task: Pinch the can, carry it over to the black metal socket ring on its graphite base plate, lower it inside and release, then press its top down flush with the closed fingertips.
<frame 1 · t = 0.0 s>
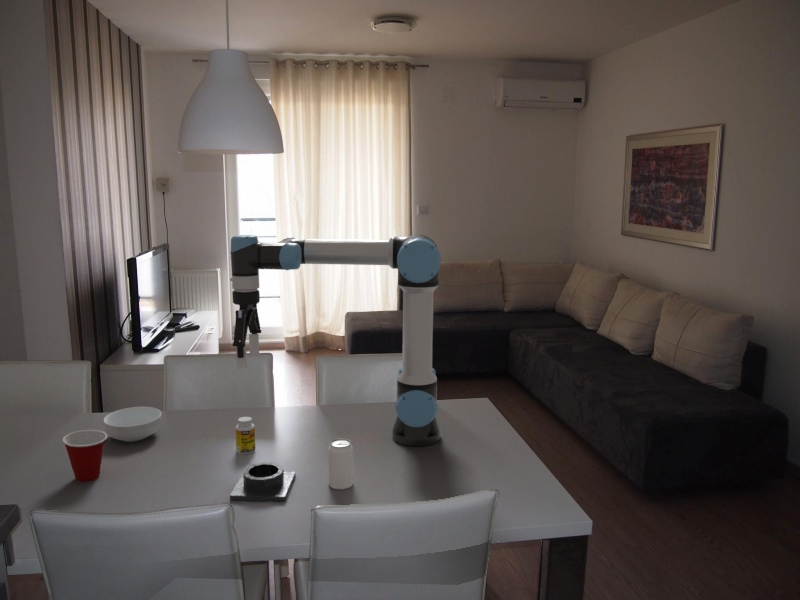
hand: (248, 361, 184), 28 cm above the table, fingers open, 13 cm apart
plastic cup: (88, 478, 172), on the table
socket: (264, 488, 166), on the table
supplement bottle: (246, 451, 189), on the table
cereal bowl: (134, 437, 199), on the table
can: (340, 485, 169), on the table
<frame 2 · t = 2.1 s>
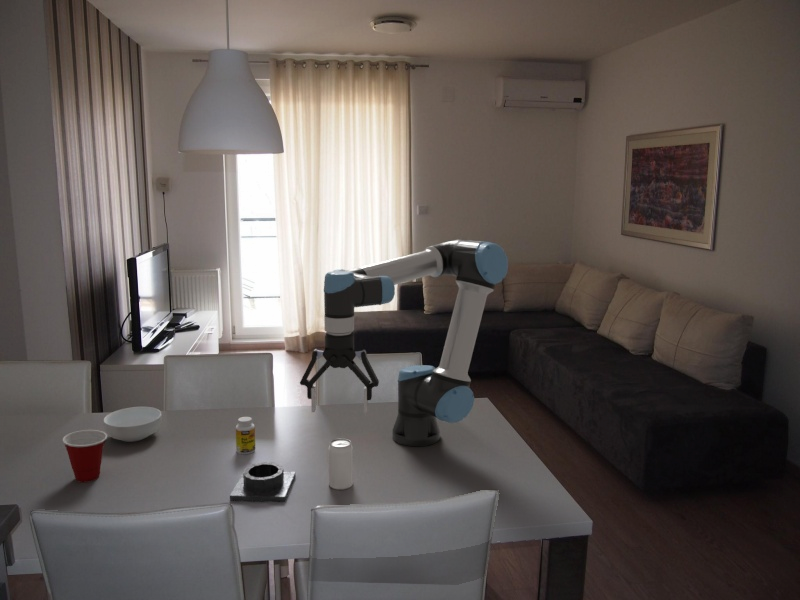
hand: (339, 411, 165), 21 cm above the table, fingers open, 13 cm apart
nothing on the table moved.
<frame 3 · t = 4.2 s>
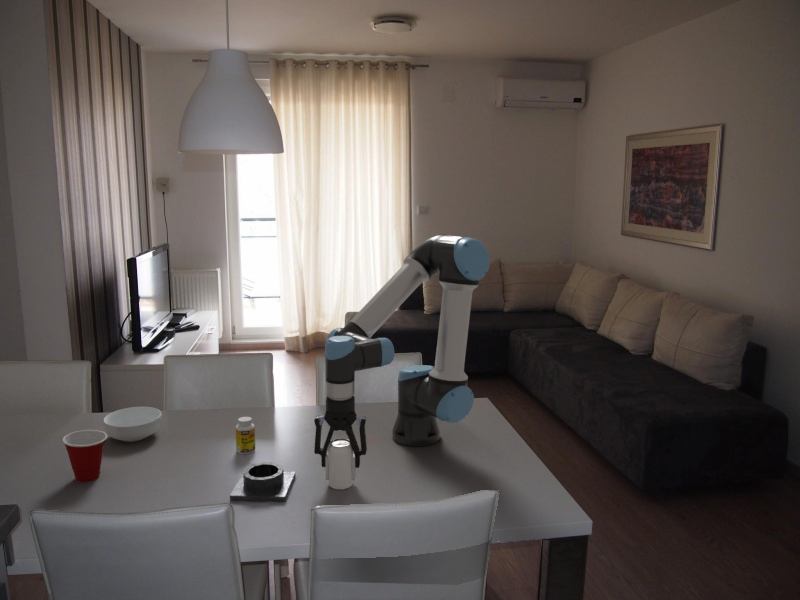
hand: (340, 477, 168), 2 cm above the table, fingers closed on can, 6 cm apart
can: (340, 485, 169), on the table, touching gripper
everything else where it was.
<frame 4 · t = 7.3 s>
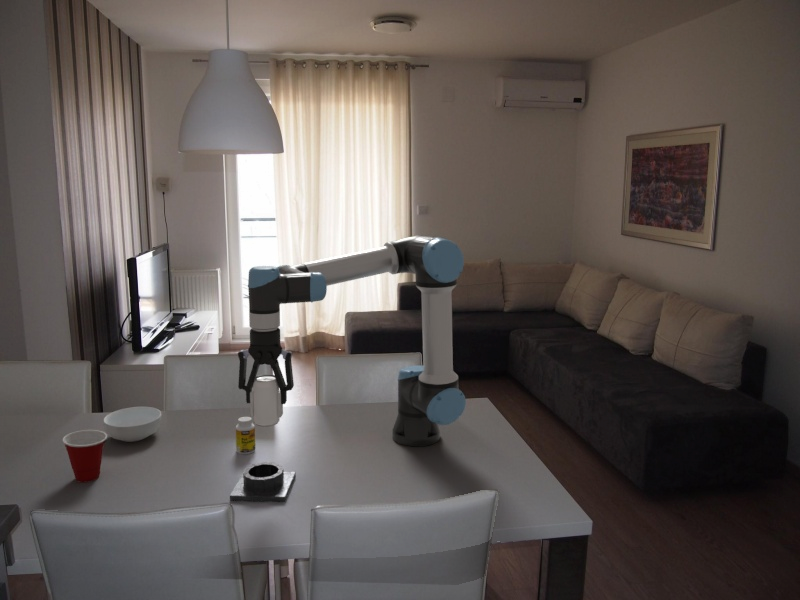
hand: (266, 415, 163), 20 cm above the table, fingers closed on can, 6 cm apart
can: (266, 423, 163), point 18 cm above the table, touching gripper
everything else where it was.
when the fingers open (6 cm above the table, at t = 10.5 s): can drops 2 cm, resting on socket.
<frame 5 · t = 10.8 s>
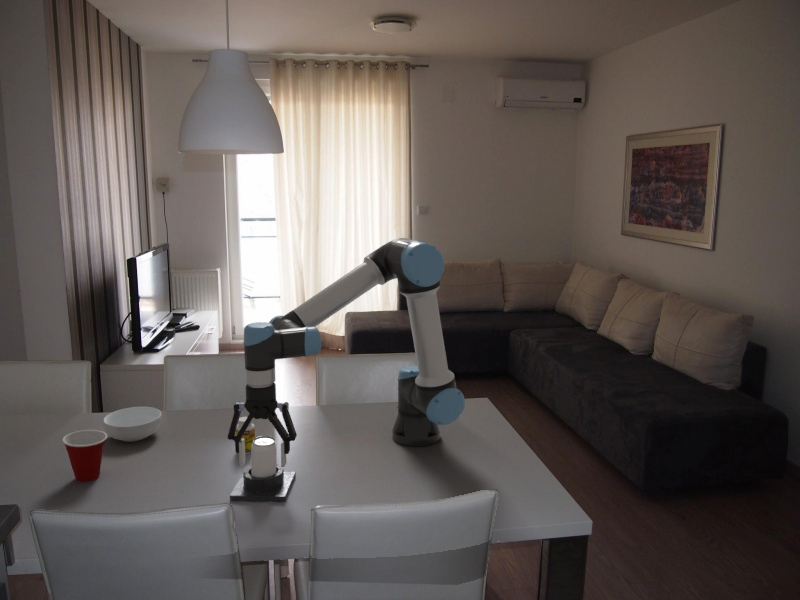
hand: (263, 464, 165), 7 cm above the table, fingers open, 10 cm apart
can: (263, 483, 166), point 1 cm above the table, touching socket
everything else where it was.
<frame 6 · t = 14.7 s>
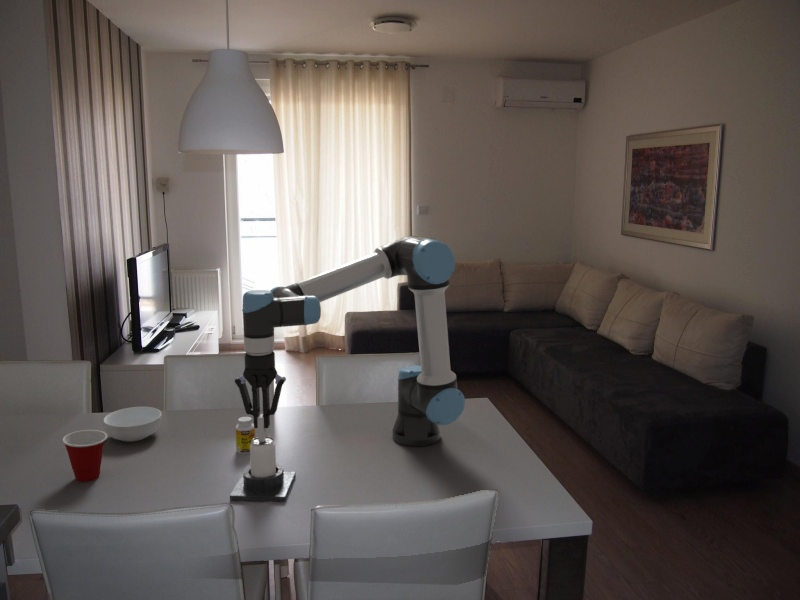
hand: (262, 439, 164), 14 cm above the table, fingers closed
can: (263, 483, 166), point 1 cm above the table, touching gripper, socket
everything else where it was.
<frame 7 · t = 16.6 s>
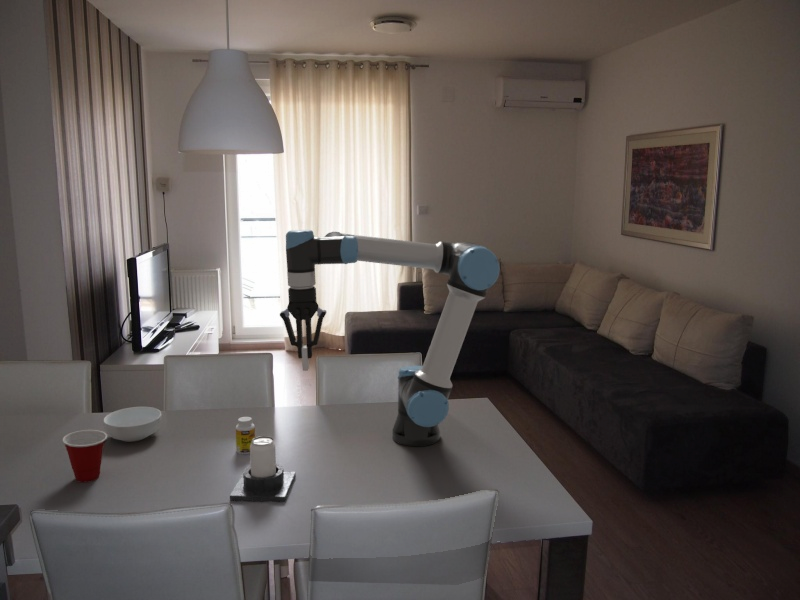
hand: (306, 369, 177), 28 cm above the table, fingers closed
can: (263, 483, 166), point 1 cm above the table, touching socket
everything else where it was.
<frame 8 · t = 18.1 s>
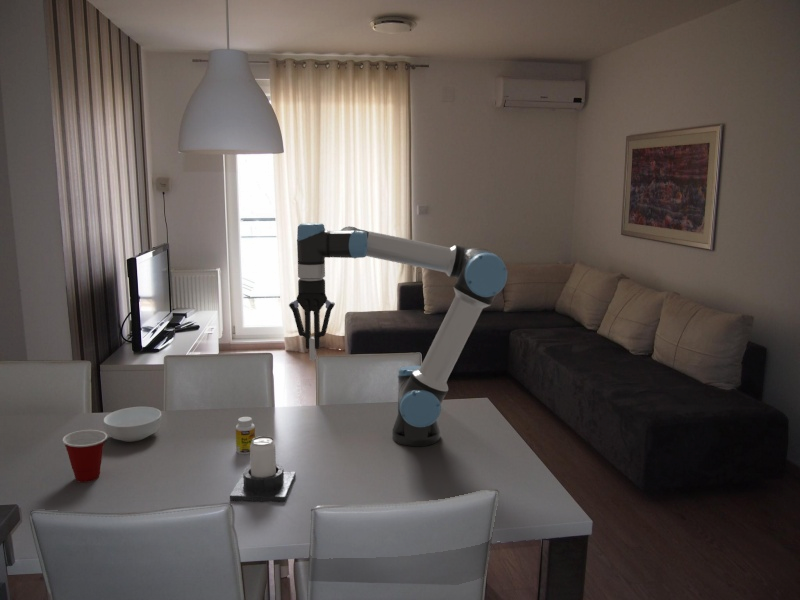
hand: (312, 359, 181), 29 cm above the table, fingers closed
nothing on the table moved.
at the end: can 0.0 cm off-centre on the socket, point 1.3 cm above the socket's base; can tilted 0°; the gripper is holding nothing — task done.
